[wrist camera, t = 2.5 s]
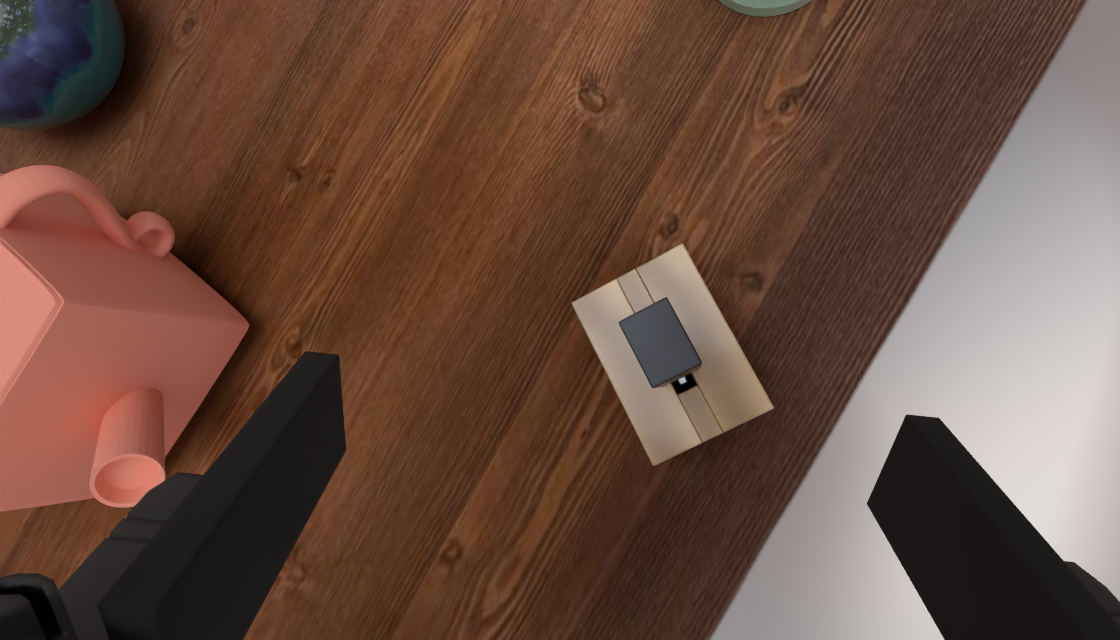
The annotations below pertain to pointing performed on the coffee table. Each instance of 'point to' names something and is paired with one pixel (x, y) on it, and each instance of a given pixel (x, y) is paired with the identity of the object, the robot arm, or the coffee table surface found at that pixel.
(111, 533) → the robot arm
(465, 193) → the coffee table surface
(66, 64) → the vase
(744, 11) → the cake stand
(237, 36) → the coffee table surface
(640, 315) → the knife
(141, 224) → the teapot
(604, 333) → the knife block
